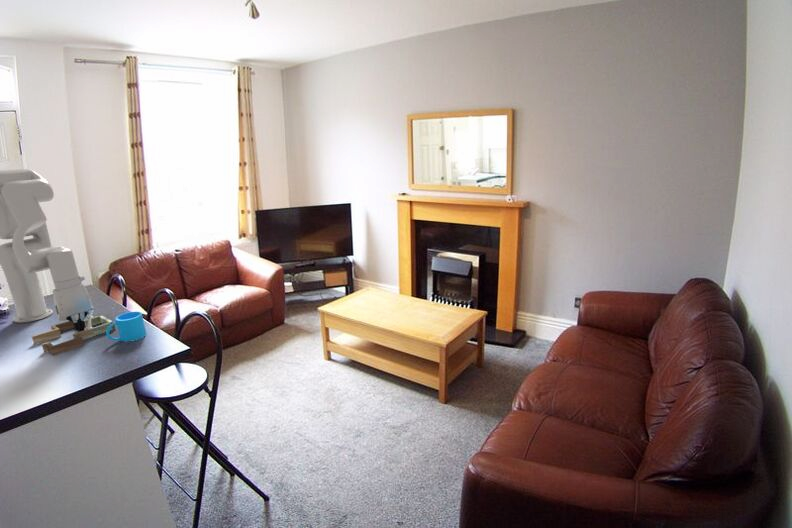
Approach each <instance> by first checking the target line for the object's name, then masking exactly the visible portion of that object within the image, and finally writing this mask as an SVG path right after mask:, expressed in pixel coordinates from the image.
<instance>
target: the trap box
mask: <svg viewBox="0 0 792 528" xmlns="http://www.w3.org/2000/svg"><path fill="white" fill-rule="evenodd" d="M76 319H77V320H78V317H76ZM87 321H88V318H86V319H85V320H84V323H85V326H86V325H87ZM114 322H115V321H113V320H111V319H109V318H107V317H106V316H104V315H102V314H100V315H97V316H93V317H92V318H91V326H92V328H90V329H87V330H84V331H81V332H78V331H77V332H74V333H72V339H69V340H66V341H63V342H61V343H57V344H55V345H54V344H52V342H50V340H53V339H57V338H60V337H62V332H64V331H68V330H71V329H75V328H74V324H73V322H71V321H69V320H65V321H61V322H59V323H57V324H53V325H50V327H51V328H50V329H51V330H47V331H43V332H41V333H38V334H34V335H32V336H31V338H32V342H33V344H34V345H38V344H41V346H42V350H43V353H44V354H46V353H47V352H48V353H50V355H52V356H57V355H59V354H62V353H64V352H65V353H66V352H67V351H70V350H73V349H77V348H79V347H82V346H85V344H84V340H87V339H91V338H93V336H94V337H96V335H97V336H100V335H103V334H106V333H105V332H106V330H107V328H108V327H109V326H110V325H111V324H112V323H114ZM100 323H102V324H100ZM97 324H98V325H97ZM93 325H95V327H94V326H93ZM114 329H115V330H116V324H115V325H114V326H112V328H111V329H110V330H112V331H115V330H114ZM102 333H103V334H102ZM99 334H100V335H99Z"/></svg>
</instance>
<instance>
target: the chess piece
mask: <svg viewBox="0 0 792 528" xmlns="http://www.w3.org/2000/svg"><path fill="white" fill-rule="evenodd" d="M92 308H93V309H94V306H92ZM94 311H95V309H94V310H89V314H87V316H86V318H87V319H88V321H87V325H86V328H84V329H85V330H87V329H90V328H93V326H91V318H93V317H94V316H93V313H94Z"/></svg>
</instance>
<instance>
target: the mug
mask: <svg viewBox="0 0 792 528" xmlns="http://www.w3.org/2000/svg"><path fill="white" fill-rule="evenodd" d="M113 322H114V323H112V324H111V325H110V326H109V327H108V328H107V330H106V333H105V335H106V338H108V339H109V340H111V341H121V342H122V341H132V340H136V339H139V340H141V339H143V338H145V337H146V336H145V335H147V331H146V327H145V322H144V318H143V313H142V312H141V311H129V312H124V313H122V314H119V315H118V316H115V321H113ZM114 325H115V326H116V328H117V331H118V335H119V337H113V336H112V335H110V332H111V331H110V329H111V328H112V326H114ZM144 336H145V337H144ZM142 337H143V338H142ZM140 338H141V339H140ZM136 341H137V340H136ZM132 342H133V341H132Z"/></svg>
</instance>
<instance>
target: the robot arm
mask: <svg viewBox="0 0 792 528" xmlns="http://www.w3.org/2000/svg"><path fill="white" fill-rule="evenodd" d="M54 196H55V195H54V189H53V187H52V186H51V184H50V183H49V182H48V180H47V179H45V178H44V177H43V176H41V175H40V174H39V173H37V172H36V171H34V170H32V169H28V168H23V169H22V168H21V169H9V170H8V169H7V170H6V169H5V170H3V169H2V170H0V240H12V241H9V242H6V243H2V244H0V267H1V269H2V271H3V274H4V277H5V279H6V282H7V286H8V288H9V292H10V295H11V298H12V301H13V302H12V303H13V305H14V308H15V311H16V314H17V315H15V316H14V317H13V322H15V323H18V324H20V323H21V324H23V323H31V322H35V321H39V320H42V319H45V318H47V317H49V316H51V315H52V314H53V313H54V311H53V309H51V308H47V305H46V301H45V297H44V294H43V290H42V286H41V283H40V280H39V277H38V274H37V273H38V272H43V271H46V270H49V271H50V275H51V278H52V281H53V286H54V289H53V290H52V297H53V298H52V299H53V304H54V308H55V312H56V314H57V317H58V318H57V319H58V320H59V321H60V322H66V321H71V322H73V324H74V328H73V329H74V330H75V331H77V333H78V332H81V331H84V330H85V329H84V328H86V326H85V323H84V320H86V318H87V316H88V314H89V310H94V311H95V309H94V307H93V303H92V301H91V298H90V295H89V293H88V289H87V288H86V286H85V285H84V283H82V281H85V280H86V278H85V276H80V275H79V272H78V267H77V263H76V261H75V256H74V254H73V251H72V249H70V248H67V247H64V246H62V245H54V246H52V243H51V238H50V235H49V230H48V225H47V221H48V220H47V216H46V215H45V212H44V211H43V208H42V207H41V204H40V203H46V202H51V201H52V200H53V198H55V197H54ZM31 236H32V237H31ZM25 237H31V238H26V239H25ZM92 307H93V308H92ZM76 315H78V317H76ZM76 318H78V320H77V319H76Z"/></svg>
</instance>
